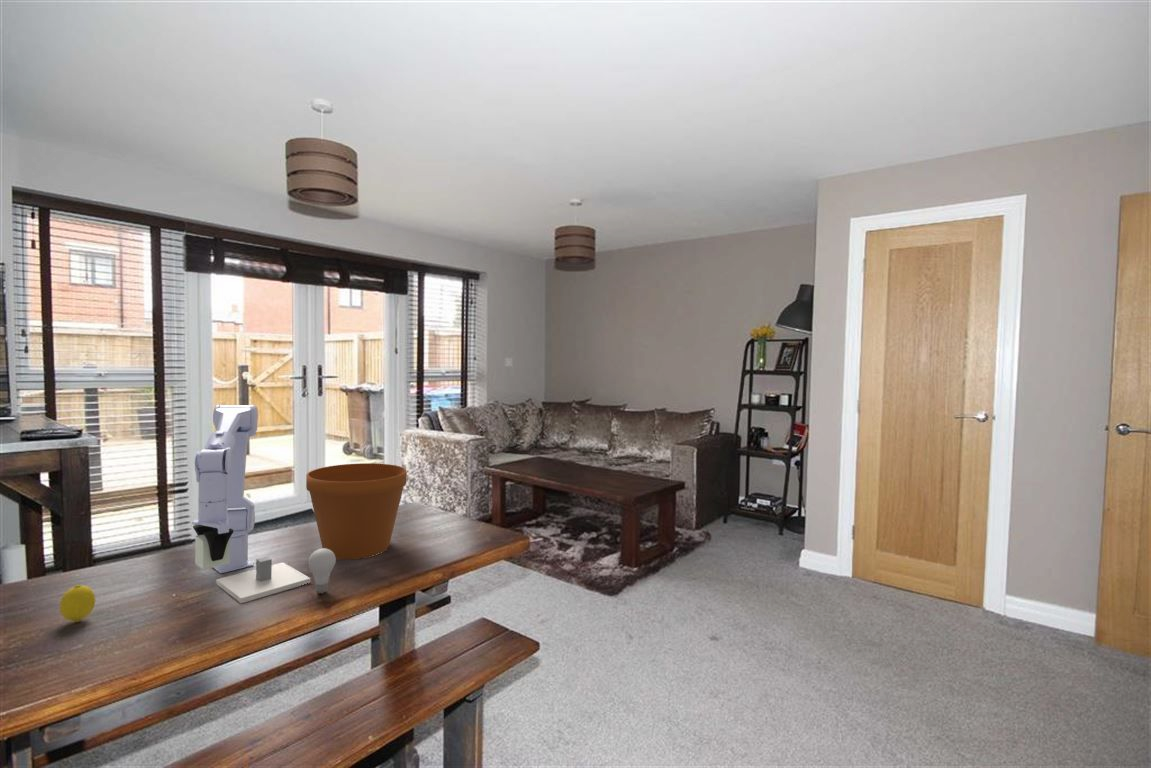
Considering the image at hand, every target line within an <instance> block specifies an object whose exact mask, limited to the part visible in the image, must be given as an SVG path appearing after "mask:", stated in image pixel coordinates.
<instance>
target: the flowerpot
mask: <svg viewBox="0 0 1151 768" xmlns="http://www.w3.org/2000/svg"><path fill="white" fill-rule="evenodd" d="M407 472H408V471H407V469H406V467H403V466H400V465H396V464H391V463H390V464H388V463H370V462H369V463H368V462H365V463H364V462H362V463H346V464H336V465H335V464H334V465H329V466H323V467H318V468H316V469H313V470H310V471H308V472H306V479H305V480H306V484H305V486H306V488H305V489H306V490H307V491H308V492H309V494H310V496H309V497H310V499H311V503H312V504H311V505H312V508H313V513H314V518H315V522H316V526H317V530H318V531H317V532H318V534H319V535H318V536H319V538H320V539H319V540H320V542H321V543H320V544H321V547H322V548H326V549H329V550H331V551H332V552H333V553H334V554H335V557H336V560H340V559H344V560H343V561H347V560H348V561H350V560H349V559H354V560H360V559H359V558H363V559H366V558H365V557H368V558H370V557H369V556H372V555H376V554H378V553H381V552H383V551H385V550H386V549H387V548H388V547H389V548H390V544H391V539H392V536H393V533H394V527H395V523H396V519H397V515H398V511H399V506H400V502H401V498H402V494H403V491H404V488H405V486H406V485H407ZM389 548H388V549H389ZM388 549H387V550H388ZM387 550H386V551H387ZM386 551H385V552H386ZM383 553H384V552H383ZM381 554H382V553H381ZM376 556H377V555H376ZM372 557H373V556H372ZM346 559H347V560H346Z"/></svg>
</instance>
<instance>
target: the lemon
mask: <svg viewBox="0 0 1151 768" xmlns="http://www.w3.org/2000/svg"><path fill="white" fill-rule="evenodd" d="M95 605H96V596H95V592H94V590H93V589H92V588H90V586H87V585H81V584H76V585H75V586H73V587H71V588H69V589H68V590H67V591H65V593H63V595H62V597H61V599H60V604H59V611H60V614H61V616H62V617H63V618H64V619H65V620H68V621H74V623H79V622H81V621H82V620H83V619H84V618H86V617H87V616H89V615H90V614H91V613H92V611H93V610H94V608H95Z"/></svg>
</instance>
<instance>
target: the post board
mask: <svg viewBox="0 0 1151 768" xmlns="http://www.w3.org/2000/svg"><path fill="white" fill-rule="evenodd" d="M272 563H273V562H272V558H270V557H268V556H265V557H260V558H257V559H256V564H255V565H256V567H255V569H252V570H248V571H243V572H239V573H236V574H232V575H228V576H224V577H220V578H217V579H216V580H215V583H216V585H217V586H218V587H219V588H221V590H223V591H225V592H226V593H227V594H229V596H231V597H232V598H234V599H235V600H236V601H237V602H239V603H240V604H244V603H247V602H250V601H253V600H257V599H261V598H264V597H267V596H271V595H273V594H277V593H278V594H279V593H281V592H285V591H287V590H291V589H295V588H298V587H301V585H302V586H304V584H305V585H308V584H311V577H309V576H307V575H306V574H304V573H302V572H300V571H299V570H297V569H296V568H294V567H292V566H290V565H289V564H287V563H285V562H279V563H275V564H272ZM307 583H308V584H307Z"/></svg>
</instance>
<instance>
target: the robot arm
mask: <svg viewBox="0 0 1151 768" xmlns="http://www.w3.org/2000/svg"><path fill="white" fill-rule="evenodd" d="M258 413H259V410H258V407H257V405H256V404H251V405H250V404H247V405H246V404H245V405H243V404H242V405H241V404H237V405H236V404H234V405H233V404H229V405H227V404H225V405H223V404H217V405H216V406H214V408H213V412H212V423H213V425H214V428H215V432H212V433H210V435H209V437H208V439H207V441H206V443H205V445H204V448H203V449H201V450H200V451H197V452H196V454H195V458H194V471H195V475H196V477H195V478H196V479H195V480H196V483H198V500H197V501H198V503H197V504H198V513H197V519H194V520H192V521H191V522H192V523H191V524H192V525H193V526H192V528H193V530H194V532H195V533H196V536H198V535H203V534H204V536H205V537H206V539H207V542H208V545H209V550H210V556H211V559H212V561H217V560H221V559H223V557H224V553H225V549H226V546H227V543H228V540H229V538H230V563H229V564H225V565H221V566H217V567H212V569H215V570H216V571H217V572H219V574H223V573H229V572H233V571H237V570H241V569H245V568H249V567H253V566H254V565H255V564H254V563H253V562H252V561H250V560H249V532H252V530H254V527H255V522H256V516H255V515H256V513H255V504H254V503H253V501H251V500H249V499H248V498H246V497H244V496H245V495H244V494H245V483H246V482H245V481H246V468H247V467H246V466H247V465H246V464H247V453H248V450H247V449H248V444H249V439H250V438H252V437H253V436H256V435H257V431H258V420H259V419H258V418H259V415H258ZM239 508H240V509H239Z"/></svg>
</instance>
